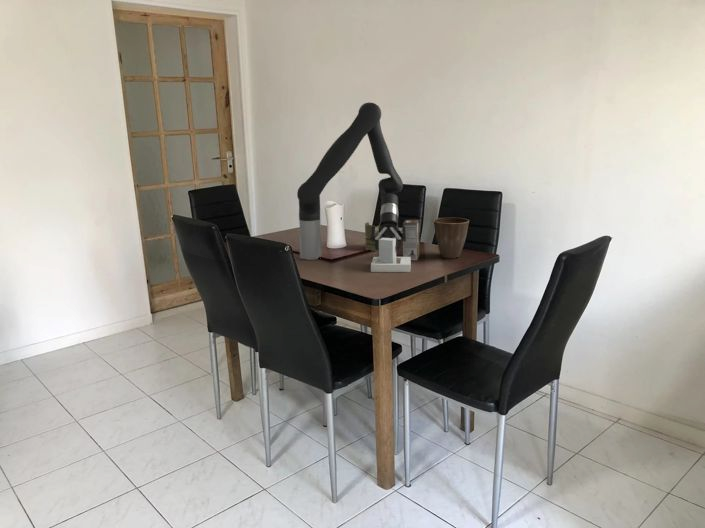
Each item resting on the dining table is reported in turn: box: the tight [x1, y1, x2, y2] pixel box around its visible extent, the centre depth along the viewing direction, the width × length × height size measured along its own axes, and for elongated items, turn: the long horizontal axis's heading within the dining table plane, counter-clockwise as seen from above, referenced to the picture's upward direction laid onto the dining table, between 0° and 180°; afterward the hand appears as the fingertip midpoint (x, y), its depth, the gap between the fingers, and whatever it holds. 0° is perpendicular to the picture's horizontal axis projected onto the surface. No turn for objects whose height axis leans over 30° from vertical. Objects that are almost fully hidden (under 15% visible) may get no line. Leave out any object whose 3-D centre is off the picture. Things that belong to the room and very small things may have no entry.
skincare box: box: [378, 237, 397, 264], centre depth 226 cm, size 6×4×12 cm
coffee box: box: [402, 219, 420, 261], centre depth 241 cm, size 9×6×16 cm
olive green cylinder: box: [364, 221, 385, 252], centre depth 260 cm, size 11×12×11 cm
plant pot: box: [433, 217, 470, 259], centre depth 240 cm, size 15×15×16 cm
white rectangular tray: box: [370, 256, 412, 273], centre depth 227 cm, size 16×13×3 cm
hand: (387, 249), depth 226 cm, fingers open, 8 cm apart
